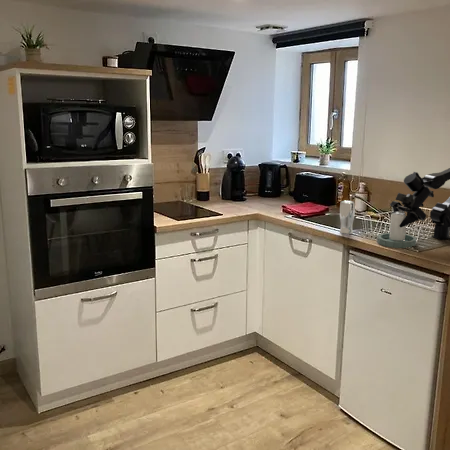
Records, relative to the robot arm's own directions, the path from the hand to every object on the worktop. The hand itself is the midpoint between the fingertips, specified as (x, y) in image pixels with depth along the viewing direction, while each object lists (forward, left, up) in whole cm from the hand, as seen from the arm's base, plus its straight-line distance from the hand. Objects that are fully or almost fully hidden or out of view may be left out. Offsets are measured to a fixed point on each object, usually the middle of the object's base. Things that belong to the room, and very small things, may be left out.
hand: (395, 225), depth 220 cm
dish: (-1, 0, -8) cm, 8 cm away
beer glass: (+7, -25, -8) cm, 27 cm away
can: (-1, 0, -7) cm, 7 cm away
